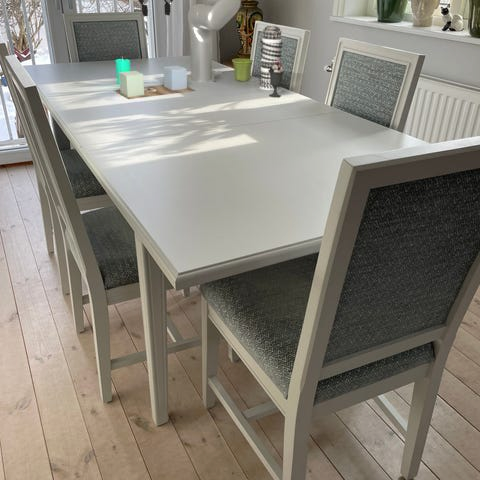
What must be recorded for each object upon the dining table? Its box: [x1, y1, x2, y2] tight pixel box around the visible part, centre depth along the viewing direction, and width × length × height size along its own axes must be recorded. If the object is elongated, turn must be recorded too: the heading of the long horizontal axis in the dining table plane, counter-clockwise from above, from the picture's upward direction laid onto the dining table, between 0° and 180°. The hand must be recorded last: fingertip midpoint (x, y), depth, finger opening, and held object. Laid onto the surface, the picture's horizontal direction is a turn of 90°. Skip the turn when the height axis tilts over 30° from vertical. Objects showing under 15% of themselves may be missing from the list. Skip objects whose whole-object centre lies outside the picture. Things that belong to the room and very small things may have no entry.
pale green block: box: [119, 70, 145, 97], centre depth 201 cm, size 7×7×8 cm
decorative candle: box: [258, 25, 283, 91], centre depth 218 cm, size 9×9×25 cm
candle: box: [115, 56, 132, 86], centre depth 216 cm, size 6×6×12 cm
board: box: [113, 84, 197, 100], centre depth 210 cm, size 30×15×2 cm, turn 124°
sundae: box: [268, 57, 285, 98], centre depth 209 cm, size 7×7×15 cm
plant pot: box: [231, 58, 254, 82], centre depth 234 cm, size 9×9×9 cm
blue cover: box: [163, 65, 188, 90], centre depth 213 cm, size 7×7×8 cm
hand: (156, 15), depth 205 cm, fingers open, 9 cm apart
